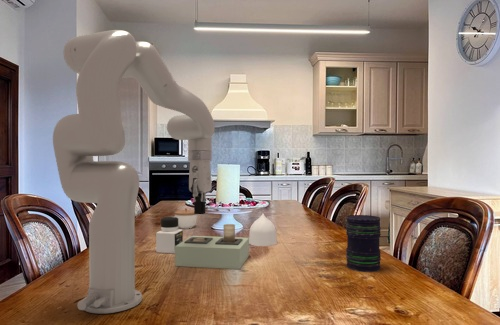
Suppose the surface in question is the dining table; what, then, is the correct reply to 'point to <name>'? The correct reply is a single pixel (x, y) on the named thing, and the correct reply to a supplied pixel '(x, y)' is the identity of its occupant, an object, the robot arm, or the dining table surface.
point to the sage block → (212, 252)
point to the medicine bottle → (168, 235)
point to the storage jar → (363, 243)
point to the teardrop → (262, 232)
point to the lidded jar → (186, 218)
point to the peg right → (229, 233)
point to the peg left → (199, 239)
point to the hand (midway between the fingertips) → (199, 213)
